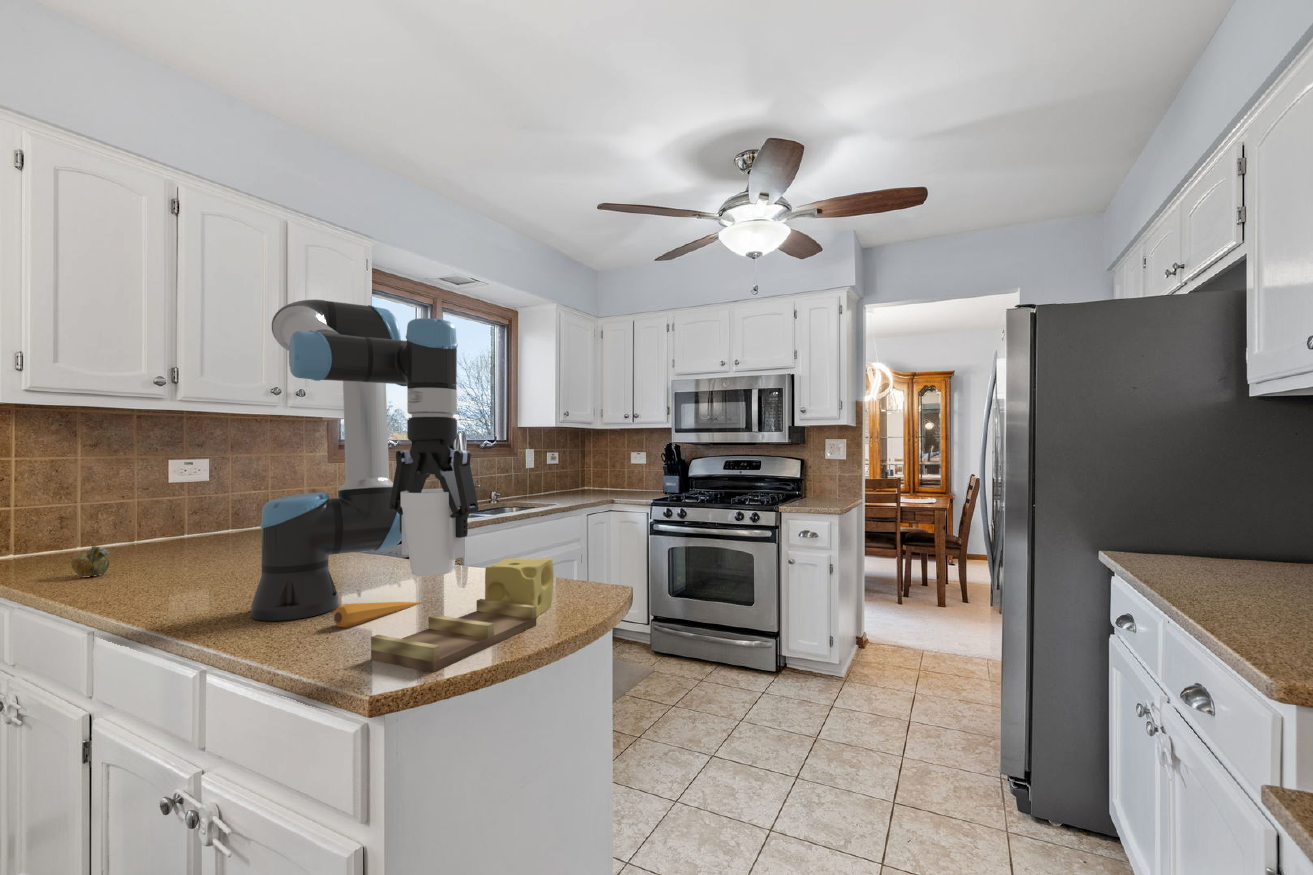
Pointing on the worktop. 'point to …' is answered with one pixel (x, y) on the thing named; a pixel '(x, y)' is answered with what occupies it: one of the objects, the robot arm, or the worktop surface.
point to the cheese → (521, 582)
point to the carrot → (366, 612)
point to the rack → (455, 636)
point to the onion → (91, 562)
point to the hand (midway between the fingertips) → (433, 555)
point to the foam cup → (427, 531)
